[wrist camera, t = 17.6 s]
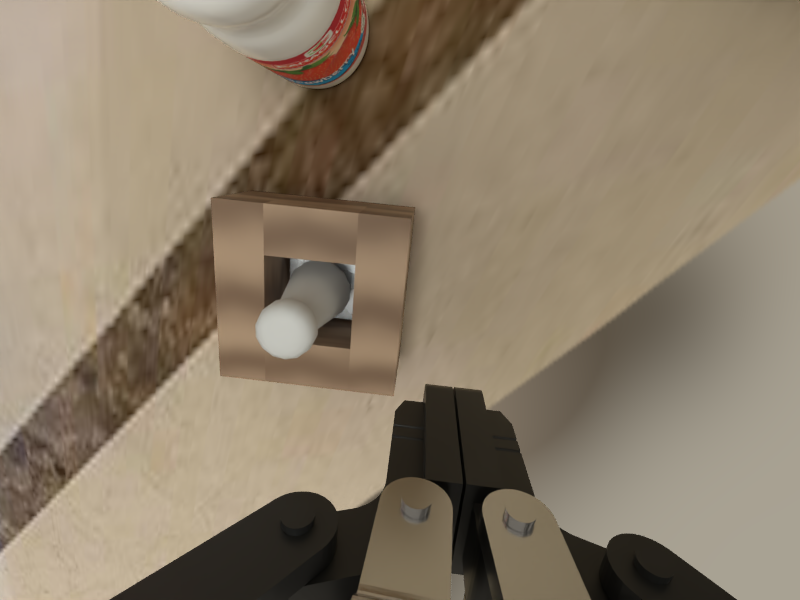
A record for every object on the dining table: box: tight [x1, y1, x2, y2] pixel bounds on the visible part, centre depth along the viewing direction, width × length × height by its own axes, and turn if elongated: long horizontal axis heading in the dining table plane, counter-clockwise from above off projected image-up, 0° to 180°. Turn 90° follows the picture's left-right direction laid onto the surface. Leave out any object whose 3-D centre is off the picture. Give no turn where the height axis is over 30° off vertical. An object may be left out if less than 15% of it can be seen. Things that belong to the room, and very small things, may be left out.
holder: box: [211, 191, 415, 396], centre depth 39 cm, size 16×16×8 cm
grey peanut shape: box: [255, 261, 350, 359], centre depth 35 cm, size 6×6×13 cm
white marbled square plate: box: [290, 258, 355, 320], centre depth 41 cm, size 7×7×1 cm
